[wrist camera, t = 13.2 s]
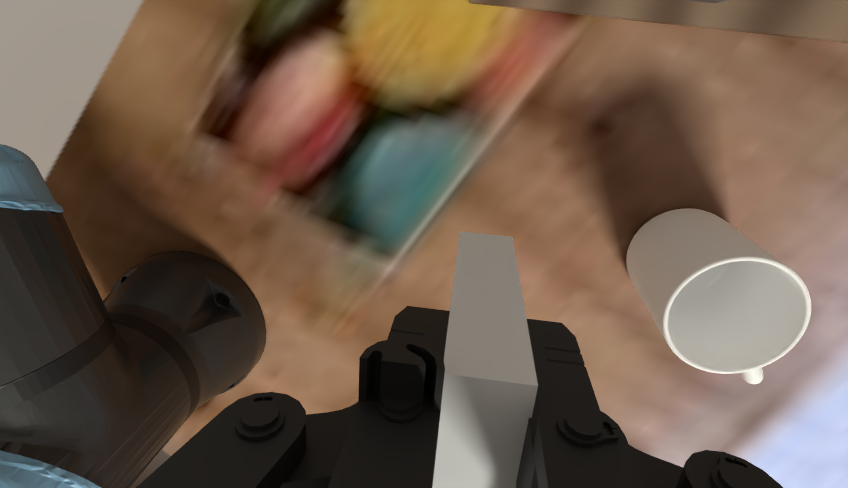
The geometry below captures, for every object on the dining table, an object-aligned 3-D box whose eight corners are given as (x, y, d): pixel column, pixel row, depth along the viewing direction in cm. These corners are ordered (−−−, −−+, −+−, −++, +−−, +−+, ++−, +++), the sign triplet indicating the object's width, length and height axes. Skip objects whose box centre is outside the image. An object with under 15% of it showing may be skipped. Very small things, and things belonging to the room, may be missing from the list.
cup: (712, 186, 36) (787, 233, 27) (763, 310, 39) (847, 391, 30) (607, 234, 39) (642, 291, 29) (663, 347, 42) (711, 431, 32)
